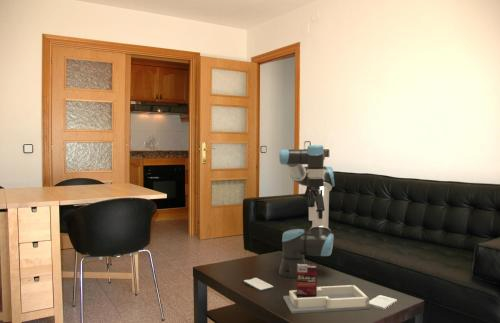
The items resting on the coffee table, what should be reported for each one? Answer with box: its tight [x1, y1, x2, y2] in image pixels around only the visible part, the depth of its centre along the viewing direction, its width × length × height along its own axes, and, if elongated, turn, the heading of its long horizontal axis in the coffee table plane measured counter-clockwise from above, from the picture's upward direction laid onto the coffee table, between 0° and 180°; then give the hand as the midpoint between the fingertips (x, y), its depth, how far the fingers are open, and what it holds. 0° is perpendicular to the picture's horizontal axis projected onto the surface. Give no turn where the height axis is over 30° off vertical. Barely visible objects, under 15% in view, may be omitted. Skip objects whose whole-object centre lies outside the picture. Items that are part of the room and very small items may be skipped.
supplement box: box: [296, 263, 318, 298], centre depth 171 cm, size 9×5×16 cm, turn 83°
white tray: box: [282, 284, 371, 314], centre depth 172 cm, size 17×33×4 cm, turn 97°
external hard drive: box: [369, 294, 398, 311], centre depth 172 cm, size 2×8×12 cm
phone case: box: [242, 277, 275, 292], centre depth 195 cm, size 9×2×16 cm
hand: (315, 223), depth 188 cm, fingers open, 13 cm apart
